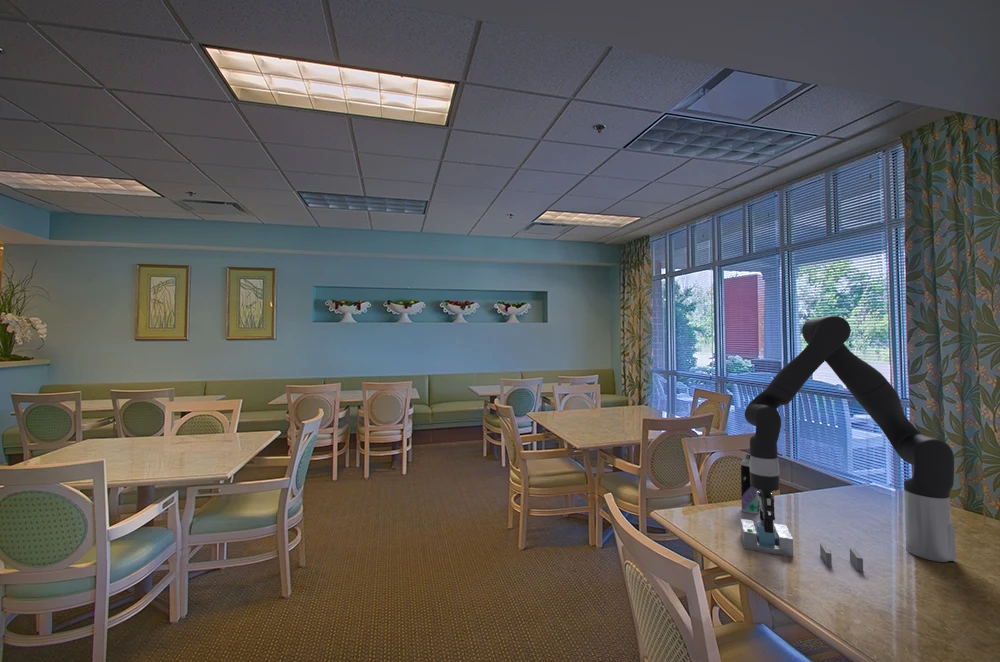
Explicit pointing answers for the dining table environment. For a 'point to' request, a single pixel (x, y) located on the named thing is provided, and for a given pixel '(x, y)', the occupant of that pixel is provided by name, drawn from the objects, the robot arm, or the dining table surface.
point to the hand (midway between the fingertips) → (766, 526)
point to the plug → (764, 534)
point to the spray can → (748, 489)
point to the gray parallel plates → (854, 557)
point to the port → (781, 540)
